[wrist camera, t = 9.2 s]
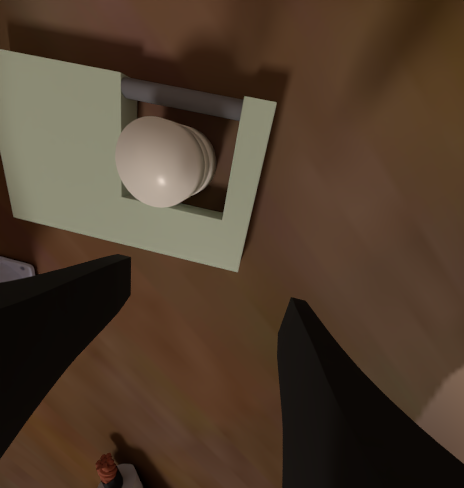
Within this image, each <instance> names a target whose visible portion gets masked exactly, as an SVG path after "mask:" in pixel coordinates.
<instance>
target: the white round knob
mask: <svg viewBox="0 0 464 488" xmlns="http://www.w3.org/2000/svg"><path fill="white" fill-rule="evenodd" d="M115 161H116V167H117V171H118V174H119V176H120V178H121V180H122V182H123V184H124V186H125V187H126V188H127V190H128V191H129V192H130V193H131V194H132V195H133V196H134V197H135V198H137V199H138V200H139V201H141V202H143V203H145V204H147V205H150V206H153V207H159V208H164V207H171V206H174V205H176V204H178V203H180V202H182V201H183V200H185V199H187V198H189V197H190V196H192V195H194V194H196V193H198V192H200V191H201V190H203V189H204V188H206V187H207V186H208V185H209V183H210V182H211V181H212V179H213V177H214V174H215V170H216V155H215V151H214V149H213V146H212V144H211V143H210V141H209V140H208V138H207V137H206V136H205V135H204V134H203V133H201V132H200V131H198V130H197V129H195V128H192V127H189V126H186V125H182V124H178V123H176V122H173V121H170V120H167V119H163V118H160V117H155V116H146V117H141V118H138V119H136V120H134V121H132V122H131V123H129V124H128V125H127V126H126V127H125V128H124V129H123V131H122V132H121V134H120V136H119V138H118V141H117V145H116V151H115Z"/></svg>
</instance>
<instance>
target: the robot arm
mask: <svg viewBox="0 0 464 488" xmlns="http://www.w3.org/2000/svg"><path fill="white" fill-rule="evenodd" d="M130 295H131V257H128V256H124V255H120V254H116V255H111V256H107V257H103V258H99V259H96V260H92V261H88V262H85V263H81V264H78V265H74V266H70V267H67V268H63V269H59V270H55V271H51V272H47V273H43V274H39V275H35V270H34V267H33V266H32V265H31V264H28V263H24V262H20V261H16V260H12V259H8V258H5V257H1V256H0V458H1V457H2V455H3V454H4V453H5V451H6V450H7V448H8V447H9V446H10V444H11V443H12V441H13V440H14V438H15V437H16V436H17V434H18V433H19V431H20V430H21V429H22V427H23V426H24V424H25V423H26V421H27V420H28V419H29V417H30V416H31V415H32V413H33V412H34V411H35V409H36V408H37V407H38V405H39V404H40V403H41V401H42V400H43V399H44V397H45V396H46V395H47V393H48V392H49V391H50V389H51V388H52V387H53V386H54V384H55V383H56V382H57V380H58V379H59V378H60V377H61V375H62V374H63V373H64V372H65V370H66V369H67V368H68V367H69V365H70V364H71V363H72V362H73V361H74V360H75V358H76V357H77V356H78V355H79V354H80V353H81V352H82V351H83V350H84V349H85V348H86V347H87V346H88V345H89V343H90V342H91V341H92V340H93V339H94V338H95V337H96V336H97V335H98V334H99V333H100V332H101V331H102V330H103V329H104V327H105V326H106V325H107V324H108V323H109V322H110V321H111V320H112V319H113V318H114V317H115V315H116V314H117V313H118V312H119V311H120V309H121V308H122V306H123V305H124V304H125V302H126V301H127V299H128V298H129V296H130ZM277 360H278V372H279V384H280V396H281V407H282V422H283V483H282V488H464V464H463V463H462V462H461V461H459V460H458V459H457V458H456V457H455V456H453V455H452V454H451V453H450V452H449V451H447V450H446V449H445V448H444V447H442V446H441V445H440V444H439V443H438V442H436V441H435V440H434V439H433V438H432V437H431V436H430V435H428V434H427V433H426V432H425V431H424V430H423V429H421V428H420V427H419V426H418V425H417V424H416V423H415V422H414V421H413V420H412V419H410V418H409V417H408V416H407V415H406V414H405V413H404V412H403V411H402V410H401V409H400V408H398V407H397V406H396V405H395V404H394V403H393V402H392V401H391V400H390V399H389V398H388V397H387V396H386V395H385V394H384V393H383V392H382V391H381V390H380V389H379V388H378V387H377V386H376V385H375V384H374V383H373V382H372V381H371V380H370V379H369V378H368V377H367V376H366V375H365V374H364V373H363V372H362V371H361V370H360V368H359V367H358V366H357V365H356V364H355V363H354V362H353V361H352V359H351V358H350V357H349V356H348V355H347V354H346V352H345V351H344V350H343V349H342V348H341V347H340V345H339V344H338V343H337V342H336V340H335V339H334V338H333V337H332V335H331V334H330V333H329V331H328V330H327V329H326V327H325V326H324V325H323V323H322V322H321V321H320V319H319V318H318V317H317V315H316V314H315V313H314V311H313V310H312V309H311V307H310V306H309V305H308V303H307V302H306V301H304V300H300V299H296V298H292V297H291V299H290V302H289V305H288V307H287V310H286V313H285V316H284V318H283V321H282V324H281V327H280V330H279V332H278V347H277Z"/></svg>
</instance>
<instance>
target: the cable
mask: <svg viewBox="0 0 464 488" xmlns="http://www.w3.org/2000/svg"><path fill="white" fill-rule="evenodd" d="M100 459H101V460H98V461H97V463H96V467H97V468H96V470H97V472H98V474H99V476H100V478H101V482H100V484H99V486H98V488H144V485H143V483H142V482H141V481H140V479H139V477H138V474H137V472H136V470H135V468H134V466H133V465H132V464H120V465H118V466H116V464H115V463H114V460H113V459H112V456H111V453H108V454H107V455H105V454H104V455H102V456H101V458H100Z"/></svg>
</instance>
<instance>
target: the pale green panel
mask: <svg viewBox="0 0 464 488" xmlns="http://www.w3.org/2000/svg"><path fill="white" fill-rule="evenodd" d="M137 101H142V102H147V103H152V104H157V105H162V106H167V107H172V108H177V109H182V110H187V111H192V112H197V113H202V114H207V115H212V116H217V117H222V118H227V119H232V120H237V121H240V123H239V129H238V134H237V140H236V145H235V151H234V156H233V162H232V167H231V173H230V179H229V184H228V190H227V195H226V201H225V206H224V212H223V213H222V212H217V211H213V210H209V209H204V208H200V207H195V206H191V205H187V204H182V203H178V204H176V205H174V206H171V207H164V208H159V207H153V206H150V205H147V204H145V203H143V202H141V201H139V200H138V199H137V198H135V197H134V196H133V195H132V194H131V193H130V192H129V191H128V190H127V188H126V187H125V186H124V184H123V182H122V180H121V178H120V176H119V174H118V171H117V167H116V161H115V151H116V145H117V141H118V138H119V136H120V134H121V132H122V131H123V129H124V128H125V127H126V126H127V125H128V124H129V123H131V122H132V121H134V120H136V119H137ZM276 104H277V102H272V101H267V100H262V99H257V98H252V97H246V96H244V100H243V99H237V98H232V97H227V96H222V95H217V94H211V93H206V92H201V91H196V90H191V89H186V88H180V87H175V86H170V85H165V84H160V83H155V82H149V81H144V80H139V79H134V78H130V77H128V76H126V75H125V74H123V73H121V72H116V71H111V70H106V69H101V68H95V67H90V66H85V65H80V64H75V63H69V62H64V61H59V60H54V59H49V58H43V57H38V56H33V55H28V54H23V53H17V52H12V51H7V50H2V49H0V153H1V158H2V162H3V167H4V172H5V177H6V182H7V187H8V192H9V197H10V202H11V207H12V211H13V216H14V217H15V218H19V219H23V220H27V221H31V222H35V223H39V224H43V225H47V226H51V227H55V228H59V229H64V230H68V231H72V232H76V233H80V234H84V235H88V236H92V237H96V238H100V239H104V240H108V241H112V242H116V243H121V244H125V245H129V246H133V247H137V248H141V249H145V250H149V251H153V252H157V253H161V254H165V255H169V256H173V257H178V258H182V259H186V260H190V261H194V262H198V263H202V264H206V265H210V266H214V267H218V268H222V269H226V270H230V271H235V272H238V269H239V265H240V261H241V257H242V252H243V248H244V244H245V239H246V235H247V231H248V226H249V222H250V218H251V213H252V209H253V205H254V201H255V196H256V192H257V188H258V183H259V179H260V175H261V170H262V166H263V162H264V157H265V153H266V149H267V144H268V140H269V136H270V131H271V127H272V123H273V119H274V114H275V110H276Z"/></svg>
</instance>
